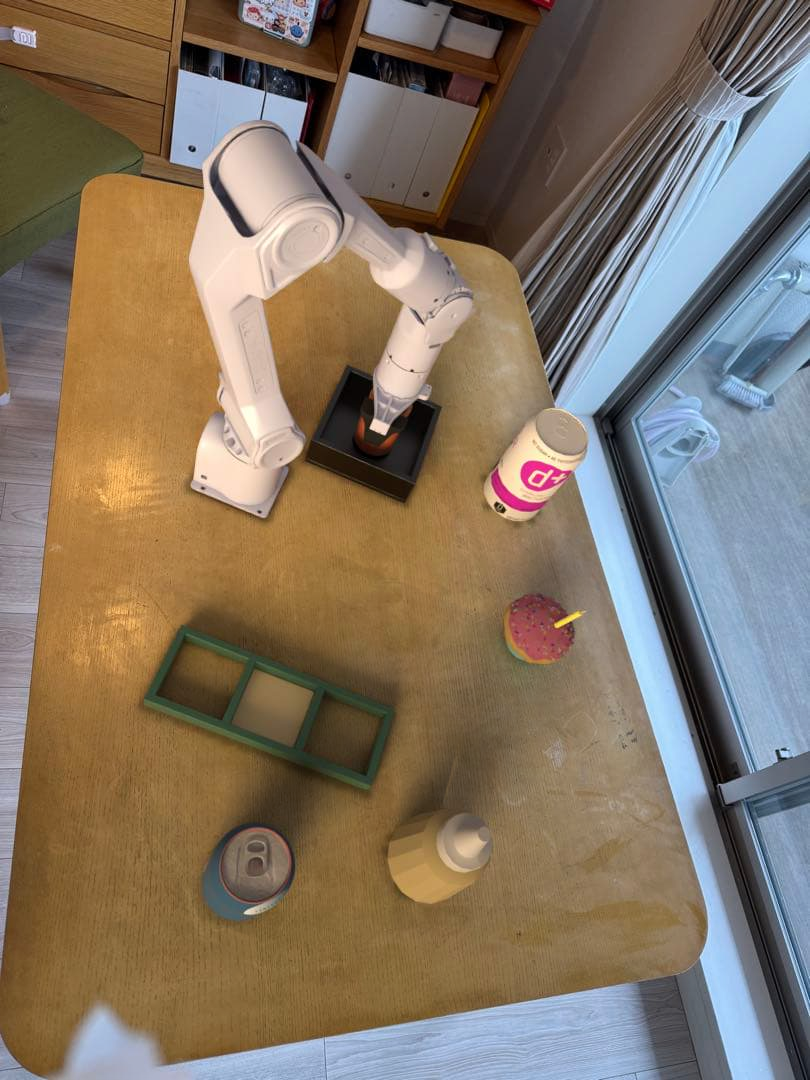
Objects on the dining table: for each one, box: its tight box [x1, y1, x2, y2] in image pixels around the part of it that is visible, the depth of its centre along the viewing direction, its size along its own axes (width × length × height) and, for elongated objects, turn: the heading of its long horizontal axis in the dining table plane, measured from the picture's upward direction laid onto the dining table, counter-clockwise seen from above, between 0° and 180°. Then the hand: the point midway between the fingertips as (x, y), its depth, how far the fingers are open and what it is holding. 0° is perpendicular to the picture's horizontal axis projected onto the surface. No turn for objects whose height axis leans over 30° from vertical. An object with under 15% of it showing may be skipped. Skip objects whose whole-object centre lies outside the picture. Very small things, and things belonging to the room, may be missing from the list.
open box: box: [304, 363, 443, 504], centre depth 99 cm, size 14×14×5 cm
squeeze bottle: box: [386, 806, 494, 905], centre depth 70 cm, size 8×8×18 cm
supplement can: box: [483, 407, 590, 522], centre depth 97 cm, size 8×8×15 cm
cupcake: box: [503, 593, 588, 665], centre depth 88 cm, size 9×8×12 cm
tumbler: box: [354, 389, 412, 456], centre depth 97 cm, size 5×5×8 cm
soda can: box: [200, 822, 296, 922], centre depth 67 cm, size 7×7×12 cm
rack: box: [143, 624, 396, 791], centre depth 79 cm, size 8×24×2 cm, turn 73°
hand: (378, 425), depth 98 cm, fingers closed on tumbler, 5 cm apart
